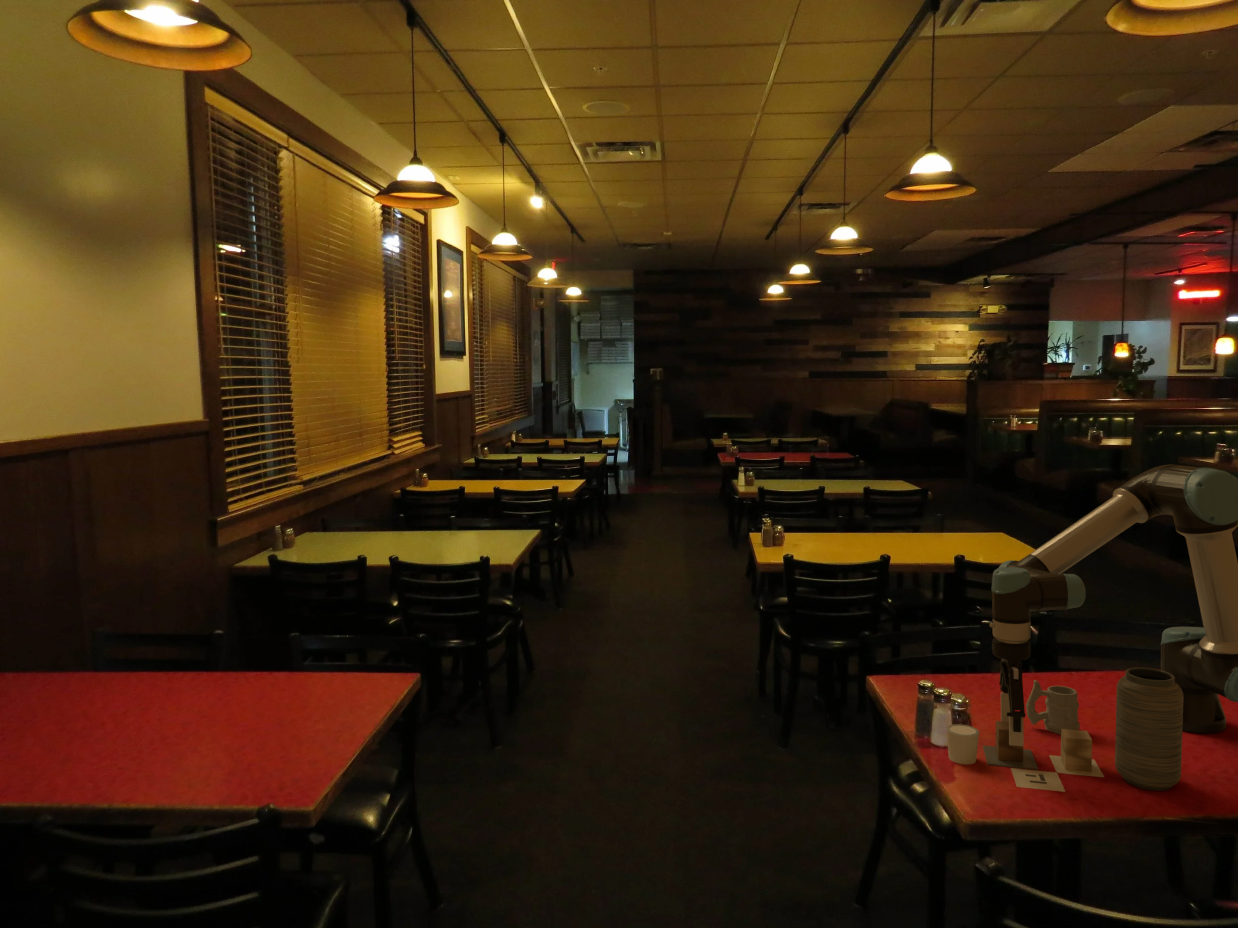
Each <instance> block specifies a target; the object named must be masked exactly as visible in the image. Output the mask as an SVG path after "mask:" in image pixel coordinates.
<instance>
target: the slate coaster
mask: <svg viewBox="0 0 1238 928" xmlns="http://www.w3.org/2000/svg"><path fill="white" fill-rule="evenodd" d="M982 749H983V753H984V756H985V760H986V764H987V766H995V767H1004V768H1015V769H1025V770H1035V771H1039V766H1038V764H1037V762H1036V760H1035V757H1034V755H1033V752H1032V750H1031V749H1029V748H1028V749H1026V748H1023V762H1014V761H1003V760H998V757H997V754H996V751H995V750H996V745H994V746H993V745H984V744H983V745H982Z"/></svg>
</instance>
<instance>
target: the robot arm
mask: <svg viewBox="0 0 1238 928" xmlns="http://www.w3.org/2000/svg"><path fill="white" fill-rule="evenodd" d="M1161 515H1162V516H1163V515H1166V516H1167V515H1168V516H1172V517H1173V523H1174V527H1175V531H1176V532H1177V533H1178V534H1180V535H1182V536H1183V537H1184V538H1185V542H1186V546H1187V550H1188V551H1187V552H1188V555H1189V556H1188V557H1189V560H1190V565H1191V570H1192V576H1193V579H1194V586H1195V591H1196V594H1197V600H1198V605H1199V609H1200V610H1199V611H1200V615H1201V620H1202V625H1203V627H1202V626H1201V627H1200V626H1172V627H1168V628H1166V629H1164V630H1163V632H1162V634H1161V642H1160V670H1162V671H1165V672H1168V673H1170V674H1172V675H1173V676H1174V677H1175V683H1177V684H1178V685H1179V686H1180V688H1181V689H1182V691H1183V726H1182V732H1183V731H1184V732H1190V733H1198V734H1214V733H1216V734H1217V733H1220V732H1223V731H1225V730H1226V728H1227V717H1226V715H1225V711H1224V708H1223V706H1222V702H1221V699H1220V697H1219V695H1220V696H1221V697H1223V698H1226V699H1228V700H1229V701H1231V702H1235V703H1238V558H1237V553H1236V548H1235V547H1236V546H1235V543H1234V539H1233V537H1234V536H1233V532H1234V530H1236V528H1237V527H1238V478H1237V477H1236V476H1235V475H1233V474H1232V473H1230V472H1228V471H1225V470H1221V469H1217V468H1214V467H1202V466H1201V467H1199V466H1191V465H1189V466H1187V465H1181V464H1180V465H1179V464H1173V463H1172V464H1171V463H1170V464H1164V465H1159V466H1156V467H1152V468H1151V469H1150V468H1149V469H1148V470H1146V471H1144V472H1142V473H1140V474H1138V475H1136V476H1135V477H1133V478H1131V479H1129V480H1128V481H1126V482H1125V483H1123V484H1122V485H1120V486H1119V487H1117V488H1116V489H1114V491H1113V492H1112V497H1111V498H1109V499H1108V500H1106V501H1105V502H1104V503H1102V504H1101V505H1099V506H1097V507H1096V508H1095V509H1093V510H1092V511H1090V512H1089V513H1087V514H1086V515H1084V516H1083V517H1081V518H1080V519H1078V520H1077V521H1076V522H1074V523H1073V524H1071V525H1070V526H1068V527H1067V528H1066V529H1064V530H1062V531H1061V532H1060V533H1058V534H1056V535H1055V536H1054V537H1052V538H1051V539H1049V540H1048V541H1046V542H1045V543H1043V544H1042V545H1041V546H1039V547H1038V548H1036V549H1035V550H1033V551H1032V552H1030V553H1029V554H1027V555H1026V556H1025V557H1023V558H1022V559H1019V560H1013V559H1012V560H1006V561H1004V562H1002V563H1001V564H1000V565H999V567H998V568H996V569H994V571H993V573H992V578H991V601H992V604H991V605H992V606H991V607H992V612H991V613H992V622H990V623H989V627H990V628H992V636H993V638H992V654H993V656H994V657H996V658H998V659H1000V671H999V682H998V683H999V686H1000V721H1006V722H1009V744H1010V745H1013V746H1023V747H1025V746H1024V742H1025V741H1024V736H1025V735H1024V734H1025V733H1024V732H1025V731H1024V730H1025V729H1024V718H1026V713H1025V712H1026V710H1025V698H1024V685H1023V684H1024V683H1023V673H1024V672H1023V667H1022V665H1021V663H1020V661H1025V660H1028V659H1030V657H1031V642H1030V639H1031V612H1039V611H1041V612H1042V611H1054V610H1068V609H1075V608H1079V607H1081V606H1082V605H1084V602H1085V600H1086V597H1087V596H1086V592H1087V591H1086V586H1085V584H1084V581H1083V580H1082V578H1081V577H1080V576H1078V575H1076V573H1065V571H1067V570H1069V569H1070V568H1071V567H1072V566H1074V565H1076V564H1077V563H1078V562H1080V561H1082V560H1083V559H1084V558H1086V557H1087V556H1089V555H1090V554H1092V553H1094V552H1096V550H1097V549H1099V548H1101V547H1102V546H1104V545H1106V543H1108V542H1110V541H1111V540H1113V539H1115V538H1116V537H1117V536H1118V535H1120V534H1121V533H1123V532H1125V531H1126V530H1127V529H1129V528H1130V527H1131V526H1133V525H1135V524H1136V523H1139V524H1144V523H1146V522H1148V521H1150V520H1151V519H1152V518H1154V517H1157V516H1161Z"/></svg>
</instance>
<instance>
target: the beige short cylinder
mask: <svg viewBox="0 0 1238 928" xmlns="http://www.w3.org/2000/svg"><path fill="white" fill-rule="evenodd" d="M945 730H946V739H947V740H946V741H947V752H948V759H949V760H950V761H952V763H953V762H954V763H956V764H959V765H973V764H975V763H976V762H977V757H978V755H977V754H978V748H979V739H980V730H979V729H977V728H976V727H973V726H972V725H967V724H960V723H957V724H950V725H948V726H946V727H945Z"/></svg>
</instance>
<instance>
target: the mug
mask: <svg viewBox="0 0 1238 928" xmlns="http://www.w3.org/2000/svg"><path fill="white" fill-rule="evenodd" d="M1041 696H1042V697H1043V696H1044V697H1045V696H1046V698H1045V700H1044V701H1045V702H1044V703H1045V706H1046V708H1045V711H1040V712H1037V710H1036V702H1037V701H1038V700H1039V698H1040V697H1041ZM1078 701H1079V700H1078V692H1077V690H1076V689H1074V688H1073V687H1068V686H1065V685H1052V686H1049V687H1048V688H1047V690H1046V689H1045V690H1042V686H1041V684H1040V683H1039V681H1038V680H1036V679H1033V685H1032V688H1031V692H1030V695H1029V696H1028V699H1027V701H1026V703H1025V708H1026V715H1027V718H1028V720H1029V721H1030V723H1031V724H1032V725H1034V726H1035V725H1037V724H1038V722H1040V721H1042V720H1043V724H1044V727H1045V730H1046V731H1049V732H1050V733H1055V734H1057V735H1061V729H1069V730H1080V728H1081V724H1080V721H1079V710H1078V709H1080V708H1079V707H1080V704H1079V702H1078Z"/></svg>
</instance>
